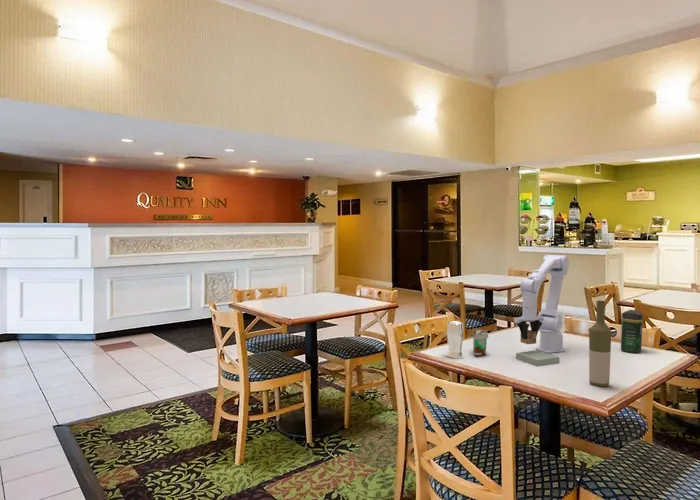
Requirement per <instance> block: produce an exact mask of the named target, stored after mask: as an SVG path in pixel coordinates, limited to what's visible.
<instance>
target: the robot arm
mask: <svg viewBox="0 0 700 500" xmlns="http://www.w3.org/2000/svg"><path fill="white" fill-rule="evenodd" d="M569 265H570V260H569V257H568V256H567V255H566V254H565V255H561V254H558V255H557V254H544V256H543V257H542V264H541V265H540V266H539V268H537V269H534V270H533V271H532V273H531V274H530V275H529V276H528V277H527V278H524V279H523V280H521V282H520V284H519V288H520V294H521V296H522V315H521V316H519V317H514V323H516V325H517V326H518V329H519V332H520V336H521V335H522V339H527V332H528V330H529V327H530V330H531V331H535V332H536V338H537V337H538V333H539V334H540V335H539V336H540V337H539V347H536V348H535V350H539V351H542V352H545V353H548V354H552V353H553V354H554V353H559V352H565V349H564V347H563V345H564V344H563V343H564V337H563V334H562V331H561V330H562V327H563V316H562V314H561V313H559V312H558V309H559V308H558V306H559V302H560V298H561V292H562V287H563V284H564V283H563V282H564V277H565V276H567V274H568V271H569ZM547 274H549V275H550V276H551V279H550V283H549V288H548V292H547V293H548V294H547V298H546V303H545V306H544V307H545V308H544V309H542V310H540V311H539V313H538V312H537V311H538V309H537V308H538V293H539V292H540V288H541V286H542V284H543V282H544V281H545V280H546V275H547Z"/></svg>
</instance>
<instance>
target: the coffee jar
mask: <svg viewBox="0 0 700 500" xmlns="http://www.w3.org/2000/svg"><path fill="white" fill-rule="evenodd" d="M643 315H644V314H643V313H642V312H641V311H639V310H637V309H636V310H635V309H627V310H626V311H624V312H622V313H621V331H620V332H621V336H620V338H621V339H620V350H621V351H623V352H626V353H629V354H630V353H631V354H632V353H635V354H639V353H641V352H642V349H643V348H642V347H643V345H642V343H643V341H642V339H643Z"/></svg>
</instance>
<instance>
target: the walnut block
mask: <svg viewBox="0 0 700 500" xmlns="http://www.w3.org/2000/svg"><path fill="white" fill-rule="evenodd" d="M520 343H521V344H526V345H533V344H535V345H536V344H537V337H536V332H535V331H531V329H528V332H527V339H522V335H521V334H520Z"/></svg>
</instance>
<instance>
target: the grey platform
mask: <svg viewBox="0 0 700 500" xmlns="http://www.w3.org/2000/svg"><path fill="white" fill-rule="evenodd" d="M515 359H516V360H518V361H521V362H524V363H527V364H530V365H532V366H535V367H542V366H549V365H555V364H560V356H557V355H554V354H552V353H546V352H543V351H540V350H537V349H535V350H529V351H521V352H515Z"/></svg>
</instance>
